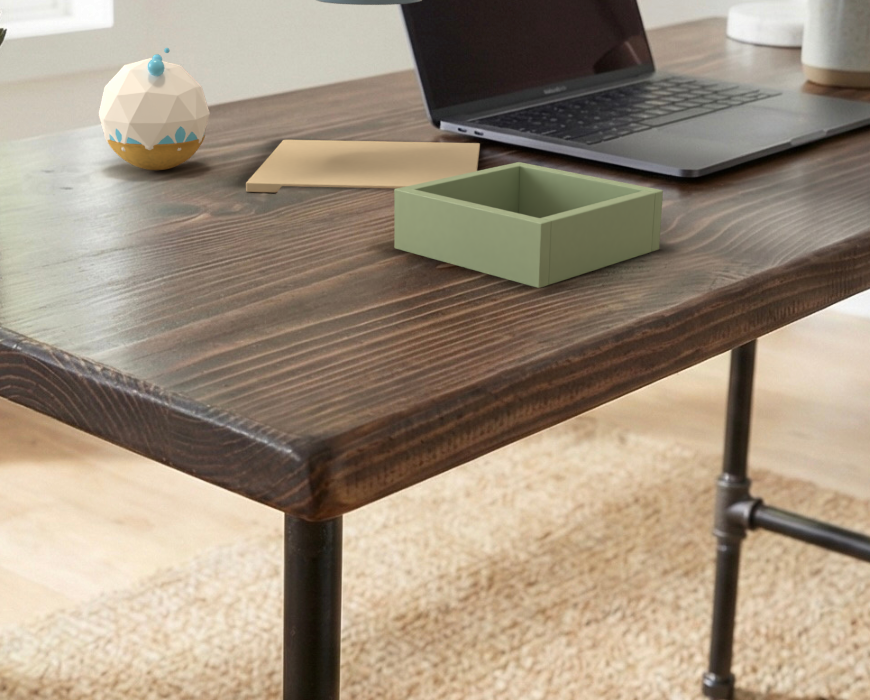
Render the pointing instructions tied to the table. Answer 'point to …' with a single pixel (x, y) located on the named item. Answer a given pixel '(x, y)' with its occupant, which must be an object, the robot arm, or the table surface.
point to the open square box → (527, 222)
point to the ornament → (154, 114)
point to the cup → (370, 2)
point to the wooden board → (361, 164)
